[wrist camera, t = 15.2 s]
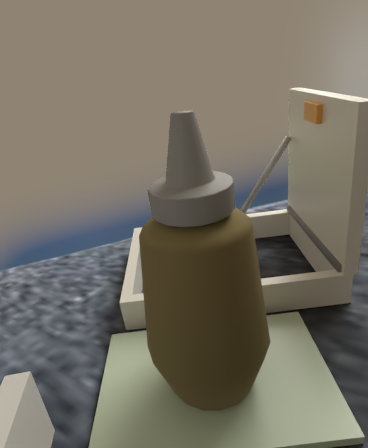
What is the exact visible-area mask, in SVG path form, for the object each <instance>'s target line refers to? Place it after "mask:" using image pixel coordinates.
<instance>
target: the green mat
mask: <svg viewBox="0 0 368 448" xmlns="http://www.w3.org/2000/svg"><path fill="white" fill-rule="evenodd" d="M267 322H268V329H269V336H270V345H269V348H268V351H267V353H266V356H265V359H264V361H263V364H262V366H261V368H260V370H259V373H258V375H257V377H256V379H255V381H254V384H253V386H252V388H251V390H250V392H249V393H248V394H247V395H246V396H245V397H244V398H243V399H242V400H241V401H240V402H239V403H238V404H236V405H233V406H231V407H228V408H225V409H223V410H201V409H198V408H195V407H193V406H190V405H187V404H186V403H185V402H184V401H183V400H182V399H181V398H180V397H179V396H178V395H177V394H176V393H175V392H174V391H173V389H172V388H171V387H170V385H169V384H168V383H167V381H166V380H165V379H164V377H163V376H162V375H161V373H160V372H159V371H158V369H157V368H156V367H155V365H154V364H153V361H152V358H151V355H150V352H149V349H148V345H147V332H146V330H144V331H136V332H128V333H120V334H112V336H111V341H110V346H109V351H108V356H107V361H106V365H105V370H104V375H103V380H102V385H101V390H100V395H99V399H98V404H97V409H96V414H95V419H94V424H93V429H92V433H91V438H90V443H89V448H332V447H340V446H348V445H357V444H364V438H365V436H364V435H363V433H362V431H361V429H360V427H359V425H358V423H357V421H356V420H355V418H354V416H353V414H352V412H351V410H350V408H349V406H348V404H347V403H346V401H345V399H344V397H343V395H342V393H341V391H340V389H339V388H338V386H337V384H336V382H335V380H334V378H333V376H332V374H331V372H330V371H329V369H328V367H327V365H326V363H325V361H324V359H323V357H322V356H321V354H320V352H319V350H318V348H317V346H316V344H315V342H314V341H313V339H312V337H311V335H310V333H309V331H308V329H307V327H306V325H305V324H304V322H303V320H302V318H301V316H300V314H299V312H291V313H283V314H275V315H267Z"/></svg>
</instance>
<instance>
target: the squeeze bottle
mask: <svg viewBox="0 0 368 448" xmlns="http://www.w3.org/2000/svg"><path fill="white" fill-rule="evenodd" d="M148 195H149V201H150V207H151V213H152V216H153V217H152V218H151V219H149V221H148V222H147V223H146V224H145V225H144V226H143V227H142V230H141V232H140V235H139V244H140V257H141V269H142V282H143V294H144V307H145V319H146V332H147V345H148V349H149V352H150V355H151V358H152V361H153V364H154V365H155V367H156V368H157V369H158V371H159V372H160V373H161V375H162V376H163V377H164V379H165V380H166V381H167V383H168V384H169V385H170V387H171V388H172V389H173V391H174V392H175V393H176V394H177V395H178V396H179V397H180V398H181V399H182V400H183V401H184V402H185V403H186V404H187V405H190V406H193V407H195V408H198V409H201V410H223V409H225V408H228V407H231V406H233V405H236V404H238V403H239V402H240V401H241V400H242V399H243V398H244V397H245V396H246V395H247V394H248V393H249V392H250V390H251V388H252V386H253V384H254V381H255V379H256V377H257V375H258V373H259V370H260V368H261V366H262V364H263V361H264V359H265V356H266V353H267V351H268V348H269V345H270V336H269V329H268V322H267V316H266V309H265V302H264V296H263V289H262V282H261V276H260V269H259V262H258V256H257V249H256V242H255V236H254V229H253V224H252V220H251V218H250V217H249V216H247V215H246V214H245V213H243V212H242V211H240V210H239V209H237V208H236V207H235V198H234V183H233V178H232V177H231V176H229V175H227V174H225V173H222V172H217V171H213V170H212V167H211V164H210V161H209V157H208V155H207V151H206V148H205V145H204V141H203V138H202V135H201V132H200V129H199V125H198V122H197V119H196V116H195V113H194V111H180V112H174V113H172V114H171V117H170V130H169V144H168V158H167V171H166V177H163V178H161V179H159V180H157V181H155V182H154V183H152V184H151V186H150V187H149V190H148Z"/></svg>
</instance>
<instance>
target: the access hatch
mask: <svg viewBox="0 0 368 448" xmlns="http://www.w3.org/2000/svg"><path fill="white" fill-rule="evenodd" d="M288 143H289V164H288V169H289V170H288V173H289V174H288V175H289V176H288V207H287V209H285V210H277V211H269V212H261V213H253V214H246V215H247V216H249V217H250V218H251V220H252V224H253V229H254V236H255V239H256V238H264V237H272V236H280V235H288V234H289V235H290V237H291V238H292V239H293V241H294V242H295V244H296V245H297V246H298V248H299V249H300V250H301V252H302V253H303V255H304V256H305V257H306V259H307V260H308V262H309V263H310V264H311V266H312V267H313V269H314V270H315V271H316V272H311V273H303V274H295V275H287V276H279V277H271V278H263V279H261V282H262V289H263V296H264V302H265V309H266V313H272V312H280V311H288V310H296V309H305V308H313V307H321V306H329V305H337V304H345V303H351V293H352V283H353V274H358V270H359V261H360V251H361V242H362V233H363V223H364V214H365V205H366V195H367V186H368V99H367V98H361V97H355V96H349V95H343V94H337V93H331V92H325V91H318V90H312V89H306V88H293V89H289V137H287V136H285V138H284V140H283V141H282V143H281V145H280V146H279V148H278V149H277V151H276V153H275V154H274V156H273V158H272V159H271V161H270V163H269V164H268V166H267V167H266V169H265V171H264V172H263V174H262V175H261V177H260V179H259V180H258V182H257V184H256V185H255V187H254V189H253V190H252V192H251V193H250V195H249V197H248V198H247V200H246V202H245V203H244V205H243V207H242V208H241V210H240V211H242V212H243V213H246V211H247V210H248V208H249V206H250V205H251V203H252V201H253V200H254V198H255V197H256V195H257V193H258V192H259V190H260V188H261V187H262V185H263V183H264V182H265V180H266V179H267V177H268V176H269V174H270V172H271V171H272V169H273V167H274V166H275V164H276V162H277V161H278V159H279V158H280V156H281V155H282V153H283V151H284V150H285V148H286V147H287V145H288ZM141 230H142V228H135V229H134V234H133V238H132V243H131V248H130V253H129V258H128V263H127V268H126V273H125V278H124V283H123V288H122V293H121V298H120V307H121V312H122V316H123V320H124V324H125V328H126V330H134V329H142V328H146V319H145V307H144V294H143V293H142V294H141V291H142V283H143V282H142V269H141V257H140V244H139V235H140V232H141Z"/></svg>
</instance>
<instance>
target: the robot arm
mask: <svg viewBox="0 0 368 448" xmlns="http://www.w3.org/2000/svg"><path fill="white" fill-rule="evenodd" d="M54 431H55V430H54V428H53V425H52V423H51V420H50V418H49V415H48V413H47V411H46V408H45V406H44V403H43V401H42V398H41V396H40V394H39V391H38V389H37V386H36V384H35V381H34V379H33V377H32V374H31V372H24V373H19V374H13V375H8V376H5V377H4V379H3V382H2V384H1V386H0V448H51V445H52V440H53V436H54Z"/></svg>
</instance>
